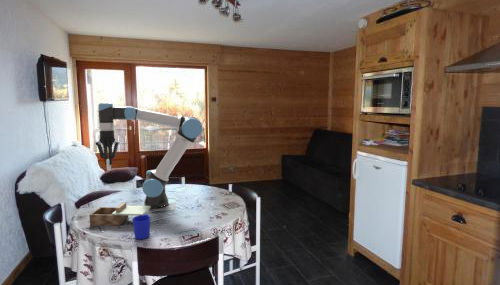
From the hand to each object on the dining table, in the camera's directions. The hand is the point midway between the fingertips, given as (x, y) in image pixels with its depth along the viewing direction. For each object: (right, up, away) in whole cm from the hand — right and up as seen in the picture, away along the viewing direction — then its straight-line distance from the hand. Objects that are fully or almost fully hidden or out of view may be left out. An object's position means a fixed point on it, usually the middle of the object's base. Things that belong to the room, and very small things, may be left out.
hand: (109, 170), depth 176 cm
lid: (+17, -22, -8) cm, 29 cm away
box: (+4, -28, -7) cm, 29 cm away
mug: (+29, -31, -24) cm, 49 cm away
